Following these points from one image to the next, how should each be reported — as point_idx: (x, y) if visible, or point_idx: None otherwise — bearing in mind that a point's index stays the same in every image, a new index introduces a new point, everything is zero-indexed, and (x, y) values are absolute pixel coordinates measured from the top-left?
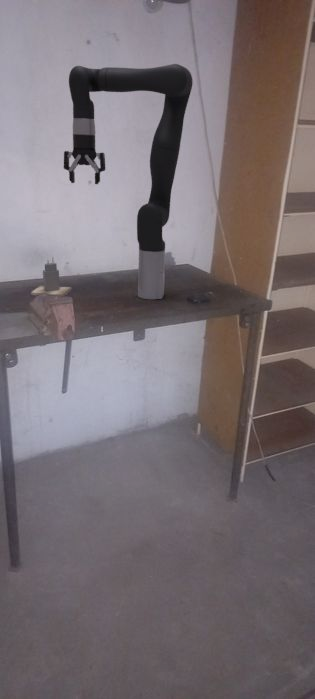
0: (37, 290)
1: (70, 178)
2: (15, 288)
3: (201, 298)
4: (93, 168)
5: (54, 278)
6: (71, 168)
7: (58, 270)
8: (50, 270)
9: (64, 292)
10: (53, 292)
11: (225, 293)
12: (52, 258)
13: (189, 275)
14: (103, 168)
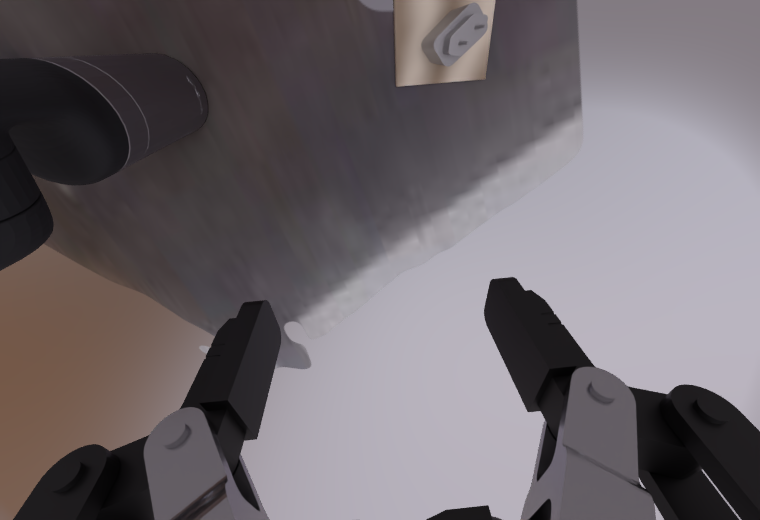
0: (482, 11)
1: (538, 310)
2: (550, 47)
3: None
4: (221, 470)
5: (440, 28)
6: (598, 412)
7: (435, 47)
8: (460, 21)
9: (399, 17)
10: (430, 3)
11: None
12: (466, 42)
13: (199, 297)
14: (35, 499)
